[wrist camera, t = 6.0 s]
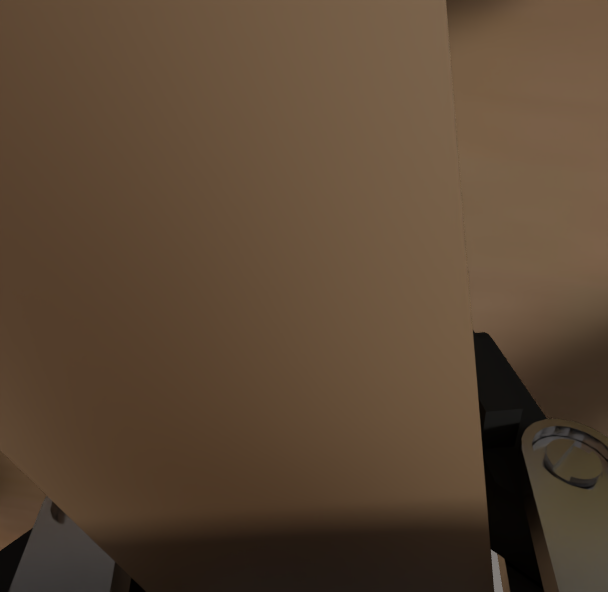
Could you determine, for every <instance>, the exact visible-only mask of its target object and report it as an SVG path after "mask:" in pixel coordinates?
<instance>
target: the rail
mask: <svg viewBox="0 0 608 592" xmlns="http://www.w3.org/2000/svg"><path fill="white" fill-rule="evenodd" d="M0 451H1V452H2V453H3V454H4V455H5V456H6V457H7V458H8V459H9V460H10V461H11V462H12V463H14V464H15V465H16V466H17V467H18V468H19V469H20V470H21V471H22V472H23V473H24V474H25V475H26V476H27V477H28V478H29V479H30V480H31V481H32V482H33V483H34V484H35V485H36V486H37V487H38V488H39V489H40V490H41V491H42V492H44V493H45V494H46V495H47V496H48V497H49V498H50V499H51V500H52V501H53V502H54V503H55V504H56V505H57V506H58V507H59V508H60V509H61V510H62V511H63V512H64V513H65V514H66V515H67V516H68V517H69V518H70V519H71V520H72V521H73V522H75V523H76V524H77V525H78V526H79V527H80V528H81V529H82V530H83V531H84V532H85V533H86V534H87V535H88V536H89V537H90V538H91V539H92V540H93V541H94V542H95V543H96V544H97V545H98V546H99V547H100V548H101V549H102V550H103V551H104V552H106V553H107V554H108V555H109V556H110V557H111V558H112V559H113V560H114V561H115V562H116V563H117V564H118V565H119V566H120V567H121V568H122V569H123V570H124V571H125V572H126V573H127V574H128V575H129V576H130V577H131V578H132V579H133V580H134V581H135V582H137V583H138V584H139V585H140V586H141V587H142V588H143V589H144V590H145V591H146V592H494V585H493V573H492V560H491V548H490V536H489V523H488V511H487V499H486V486H485V474H484V462H483V450H482V437H481V425H480V413H479V401H478V388H477V376H476V364H475V351H474V339H473V327H472V315H471V302H470V290H469V278H468V266H467V253H466V241H465V229H464V216H463V204H462V192H461V180H460V167H459V155H458V143H457V131H456V118H455V106H454V94H453V81H452V69H451V57H450V45H449V32H448V20H447V8H446V0H0Z"/></svg>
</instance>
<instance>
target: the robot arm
mask: <svg viewBox="0 0 608 592" xmlns="http://www.w3.org/2000/svg"><path fill="white" fill-rule="evenodd" d="M473 339H474V351H475V364H476V376H477V388H478V401H479V413H480V425H481V437H482V450H483V462H484V474H485V486H486V499H487V511H488V523H489V536H490V548H491V550H493V551H494V552H496V553H497V555H498V562H499V567H500V574H501V580H502V587H503V592H608V437H606V436H605V435H603V434H601V433H600V432H598V431H596V430H594V429H593V428H590V427H588V426H585V425H583V424H580V423H577V422H574V421H568V420H563V419H547V418H546V417H545V415H544V414H543V412H542V411H541V409H540V408H539V407H538V405H537V404H536V402H535V401H534V399H533V398H532V396H531V395H530V393H529V392H528V390H527V389H526V388H525V386H524V385H523V383H522V382H521V380H520V379H519V377H518V376H517V374H516V373H515V371H514V370H513V368H512V367H511V366H510V364H509V363H508V361H507V360H506V358H505V357H504V355H503V354H502V352H501V351H500V349H499V348H498V346H497V345H496V344H495V342H494V341H493V339H492V338H491V337H490V336H489V334H487V333H485V332H482V333H475V332H474V331H473ZM0 592H146V591H145V590H144V589H143V588H142V587H141V586H140V585H139V584H138V583H137V582H135V581H134V580H133V579H132V578H131V577H130V576H129V575H128V574H127V573H126V572H125V571H124V570H123V569H122V568H121V567H120V566H119V565H118V564H117V563H116V562H115V561H114V560H113V559H112V558H111V557H110V556H109V555H108V554H107V553H106V552H104V551H103V550H102V549H101V548H100V547H99V546H98V545H97V544H96V543H95V542H94V541H93V540H92V539H91V538H90V537H89V536H88V535H87V534H86V533H85V532H84V531H83V530H82V529H81V528H80V527H79V526H78V525H77V524H76V523H75V522H73V521H72V520H71V519H70V518H69V517H68V516H67V515H66V514H65V513H64V512H63V511H62V510H61V509H60V508H59V507H58V506H57V505H56V504H55V503H54V502H53V501H52V500H51V499H50V498H49V497H48V496H46V498H45V500H44V502H43V504H42V506H41V509H40V511H39V514H38V517H37V519H36V522H35V524H34V527H33V528H32V529H31V530H29V531H28V532H27V533H25V534H24V535H22V536H21V537H19V538H18V539H17V540H15V541H14V542H12V543H11V544H9V545H8V546H7V547H5V548H4V549H2V550H1V551H0Z"/></svg>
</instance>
